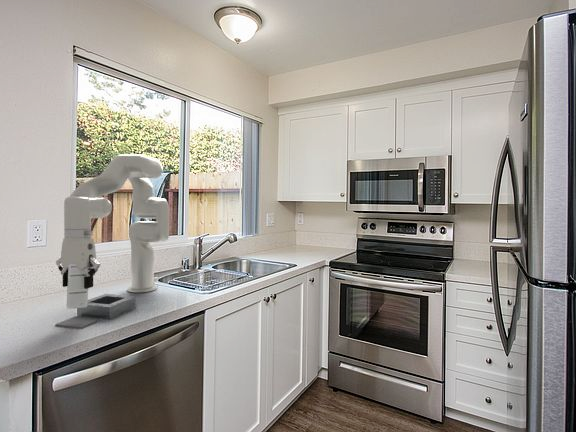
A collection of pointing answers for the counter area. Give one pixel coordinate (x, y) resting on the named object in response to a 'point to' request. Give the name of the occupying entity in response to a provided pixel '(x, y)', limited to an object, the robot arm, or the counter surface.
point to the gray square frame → (107, 306)
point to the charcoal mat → (77, 322)
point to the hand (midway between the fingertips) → (78, 286)
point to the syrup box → (76, 288)
